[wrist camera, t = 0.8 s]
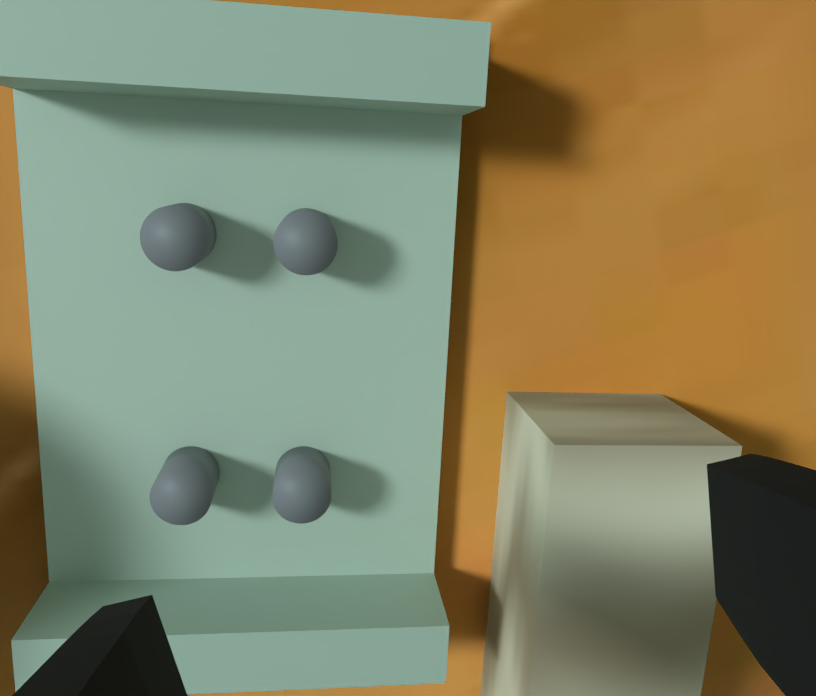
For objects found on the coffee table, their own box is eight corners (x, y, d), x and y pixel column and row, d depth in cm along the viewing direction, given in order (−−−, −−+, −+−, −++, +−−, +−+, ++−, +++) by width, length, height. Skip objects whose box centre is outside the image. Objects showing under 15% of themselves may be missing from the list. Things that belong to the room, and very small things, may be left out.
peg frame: (426, 624, 21) (444, 696, 18) (61, 636, 20) (17, 716, 17) (463, 29, 17) (492, 0, 14) (16, -5, 16) (-50, -45, 13)
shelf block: (615, 697, 23) (681, 812, 19) (477, 704, 22) (514, 823, 18) (657, 391, 20) (742, 446, 16) (505, 389, 20) (554, 445, 16)
